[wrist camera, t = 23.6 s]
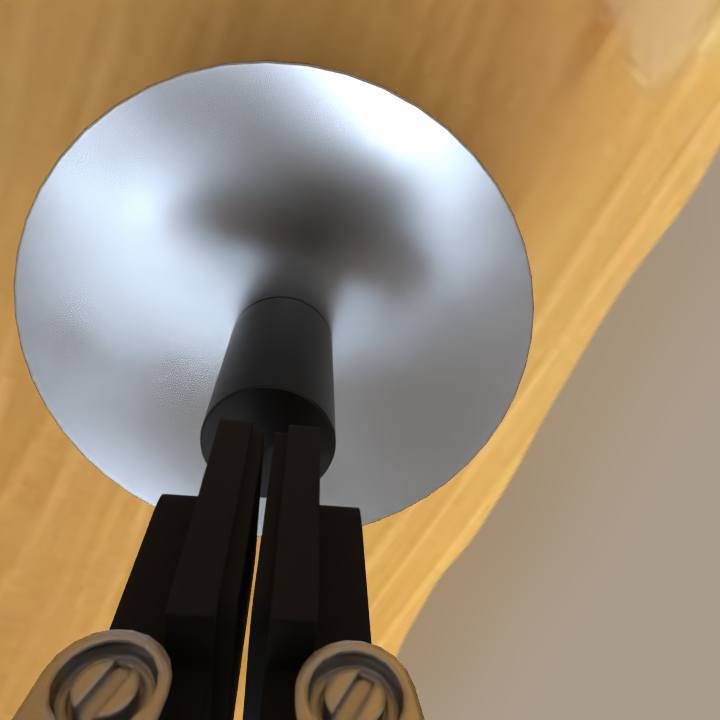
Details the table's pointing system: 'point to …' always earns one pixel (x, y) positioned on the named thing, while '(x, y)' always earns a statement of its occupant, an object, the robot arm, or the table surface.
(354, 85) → the lid
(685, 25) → the table surface
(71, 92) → the table surface
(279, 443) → the robot arm
